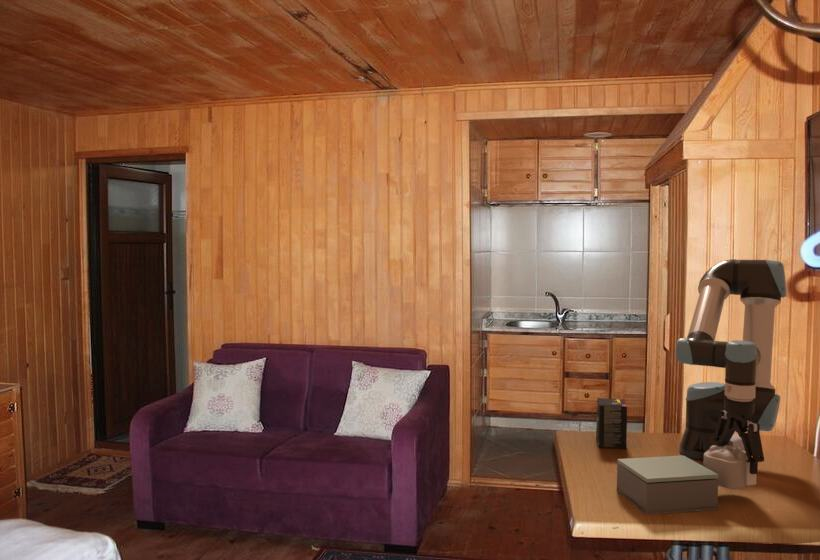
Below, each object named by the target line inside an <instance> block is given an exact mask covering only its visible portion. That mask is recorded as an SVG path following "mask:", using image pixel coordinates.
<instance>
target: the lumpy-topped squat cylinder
mask: <svg viewBox="0 0 820 560" xmlns="http://www.w3.org/2000/svg"><path fill="white" fill-rule="evenodd" d="M747 460H748V457H747V454H746V451H745V450H742V449H741V448H740V447H737V448H734V447H732V446H730V445H725V446H724V447H718V446H716V445H713V446H711V447H710V449H709V450H708V451H706V452H705V453H704V461H703V462H702V463H703V464H702V466H704V467H706V468H708V469H709V470H711V471H713V472H715V473H717V474H719V476H718V478H716V479H718V487H721V488H724V489H728V490H740V489H742V488H744V487H746V486H747V485H745V472H746V461H747Z"/></svg>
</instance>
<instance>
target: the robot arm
mask: <svg viewBox="0 0 820 560" xmlns="http://www.w3.org/2000/svg"><path fill="white" fill-rule="evenodd" d="M786 283H787V281H786V272H785V267H784V264H783V263H782V261H779V260H772V259H736V258H735V259H734V258H731V259H725V260H723V261H720V262H718V263H716V264H714V265H713V266H712V267H710V268H709V269H708V270H707V271H706V272H705V273H704V274H703V276H702V277H701V278H700V280H699V282H698V286H697V291H698V294H699V295H698V298H697V302H696V305H695V308H694V312H693V315H692V319H691V323H690V326H689V330H688V334H687V335H686V336H687V337H684V338H683V337H681V338H678V339H677V341H676V345H675V360H676V362H678V363H681V364H685V365H686V364H687V365H691V366H700V367H701V366H704V367H715V368H724V370H725V372H724V373H725V376H724V377H725V378H724V383H723V382H716V381H713V382H712V381H709V382H708V381H707V382H706V381H705V382H704V381H703V382H697V383H692V384H691V385H689V386H688V387H687V389H686V398H685V403H686V404H685V405H686V406H685V428H684V432H683V434H682V437H681V439H680V442H679V447H678V452H679V454H680V455H681V456H682V455H684V456H686V457H687V458H689V459H692V460H698V461H703V462H704V453H705V452H706V451H708V450H709V449H710V447H711V446H713V445H716V446H718V447H724V446H725V445H730V444H729V441H730V439H731V438H732V436H733V434H734V433H736V434H738V435H739V437H741V439H742V442H743V445H744V448H745V450H744V451H746V454H747V457H748V460H747V461H746V472H745V485H746V486H756V485H757V474H758V468H759V467H758V466H759V463H762V462H765V456H764V451H763V444H762V440H761V432H762V431H763V432H771V431H773V429H775V425H776V423H777V417H778V414H779V409H780V405H781V403H780V402H781V395H779V394H777V393H776V388H775V387H774V385H773V384H772V383H771V379H772V377H771V376H772V363H773V362H772V361H773V347H774V344H773V343H774V330H775V329H774V326H775V312H776V310H775V309H776V308H777V306H779V305H780V304H781V303H782V299H783V298H786V297H787V284H786ZM731 295H735V296H740V298H739V300H740V302H741V303H742V304H743V305H744V315H743V327H742V330H743V331H742V340H739V339H738V340H729V341H720V340H716V336H717V332H718V330H719V329H718V328H719V325H720V324H719V323H720V320H721V316H722V312H723V308H724V304H725V300H726V299H728V297H730V296H731Z"/></svg>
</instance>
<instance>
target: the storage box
mask: <svg viewBox="0 0 820 560" xmlns="http://www.w3.org/2000/svg"><path fill="white" fill-rule="evenodd" d="M616 466H617V469H616V492H617V491H618V493H619V494H620V495H621V496H622V497H623V496H624V497H623V498H625V499H626V500H627V501H628V502H629V503H631V504H632V505H633V506H635V507H636V508H637V509H638V510H639V511H641V512H642V513H643V514H644V515H646V516H648V515H661V514H673V513H674V514H675V513H687V512H688V513H691V512H705V511H704V510H706V511H717V510H718V502H719V501H718V498H719V497H718V495H719V486H718V479H716V478H715V479H699V480H683V481H667V482H651V483H647V482H645V481H644V480H642V479H641V478H639V477H638V476H636V475H635V474H633V473H632V472H630V471H629V470H628V469H626V468H625V467H623V466H622V465H620V464H619V463H617V464H616Z"/></svg>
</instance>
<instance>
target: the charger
mask: <svg viewBox="0 0 820 560" xmlns="http://www.w3.org/2000/svg"><path fill="white" fill-rule="evenodd" d="M729 444H730V446H732V447H734V448H737V447H740V448H741V449H742V450H744V451H745V448H744V445H743V442H742V439H741V437H739V435H738V433H737V432H734V434H733V436H732V438H731V439H730V441H729Z"/></svg>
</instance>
